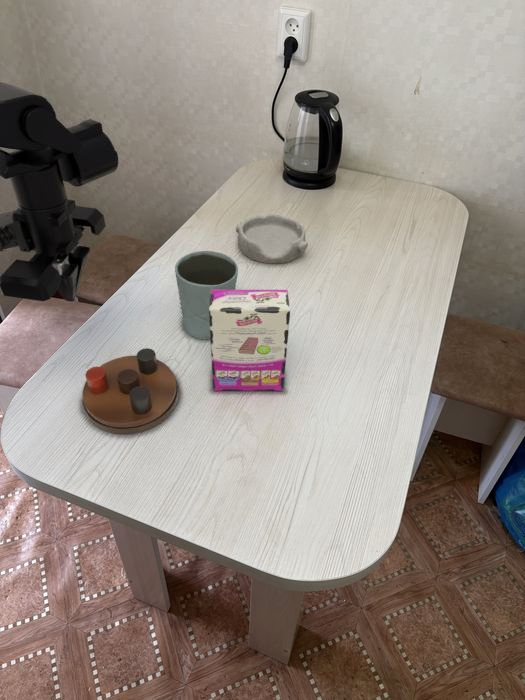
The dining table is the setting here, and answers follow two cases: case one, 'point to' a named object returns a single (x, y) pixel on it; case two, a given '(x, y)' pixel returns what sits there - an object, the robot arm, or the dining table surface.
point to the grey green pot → (202, 287)
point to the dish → (271, 238)
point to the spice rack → (129, 390)
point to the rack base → (137, 428)
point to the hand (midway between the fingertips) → (70, 299)
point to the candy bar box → (248, 339)
